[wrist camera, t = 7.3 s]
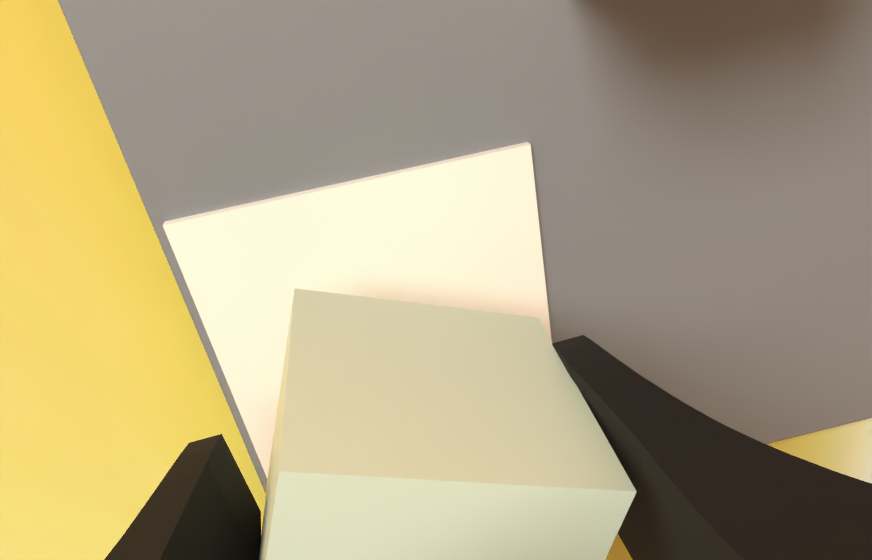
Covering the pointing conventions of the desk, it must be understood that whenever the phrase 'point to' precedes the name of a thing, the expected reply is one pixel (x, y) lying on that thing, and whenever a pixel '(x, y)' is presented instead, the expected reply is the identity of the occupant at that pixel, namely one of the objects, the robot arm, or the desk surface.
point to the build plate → (515, 180)
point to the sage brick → (433, 440)
